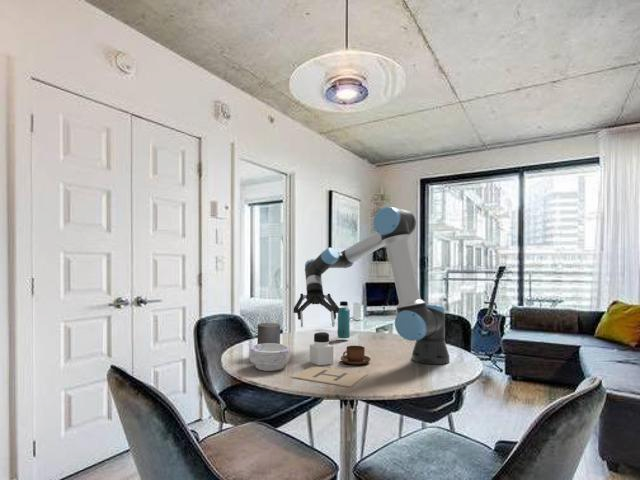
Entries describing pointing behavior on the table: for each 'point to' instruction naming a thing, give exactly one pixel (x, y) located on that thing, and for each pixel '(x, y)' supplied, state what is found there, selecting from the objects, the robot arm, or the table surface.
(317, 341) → the medicine bottle
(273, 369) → the paper bowls
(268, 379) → the table surface
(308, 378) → the letter card
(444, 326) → the robot arm
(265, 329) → the pillar candle
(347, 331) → the beverage bottle
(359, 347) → the cup and saucer
